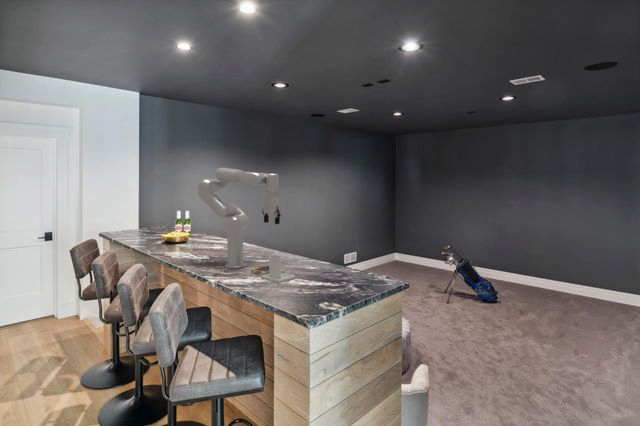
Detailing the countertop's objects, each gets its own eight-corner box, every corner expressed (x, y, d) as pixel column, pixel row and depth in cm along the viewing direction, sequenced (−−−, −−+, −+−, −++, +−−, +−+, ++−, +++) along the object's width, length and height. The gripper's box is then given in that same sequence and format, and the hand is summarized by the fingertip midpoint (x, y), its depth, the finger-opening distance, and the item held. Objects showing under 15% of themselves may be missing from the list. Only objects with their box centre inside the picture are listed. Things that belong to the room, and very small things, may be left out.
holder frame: (251, 273, 215) (251, 269, 215) (270, 268, 226) (270, 265, 226) (264, 276, 207) (264, 272, 207) (283, 271, 219) (283, 268, 218)
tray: (261, 278, 204) (261, 275, 204) (277, 274, 213) (277, 271, 213) (279, 283, 195) (279, 280, 195) (294, 278, 204) (294, 275, 204)
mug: (273, 280, 198) (273, 258, 197) (266, 277, 204) (266, 256, 202) (288, 277, 204) (289, 255, 203) (282, 274, 210) (282, 253, 209)
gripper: (257, 193, 223) (257, 222, 224) (277, 195, 212) (276, 225, 213) (267, 193, 228) (266, 221, 230) (286, 195, 217) (286, 224, 219)
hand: (271, 223), depth 222 cm, fingers open, 9 cm apart
